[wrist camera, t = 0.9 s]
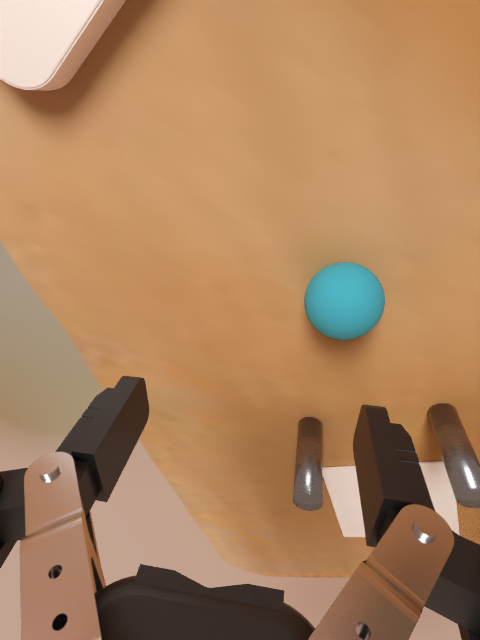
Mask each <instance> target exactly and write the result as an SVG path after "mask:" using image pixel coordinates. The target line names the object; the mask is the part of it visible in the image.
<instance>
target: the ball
mask: <svg viewBox="0 0 480 640" xmlns="http://www.w3.org/2000/svg"><path fill="white" fill-rule="evenodd" d="M304 301H305V310H306V314H307V316H308V319H309V320H310V322H311V323H312V325H313V326H314V327H315V328H316V329H317V330H318V331H319V332H321V333H322V334H324V335H326V336H328V337H330V338H334V339H340V340H348V339H354V338H357V337H360V336H362V335H364V334H366V333H368V332H369V331H370V330H371V329H372V328H373V327H374V326H375V325H376V324H377V323H378V321H379V320H380V318H381V316H382V313H383V310H384V305H385V296H384V291H383V288H382V286H381V283H380V282H379V280H378V278H377V277H376V276H375V275H374V274H373V273H372V272H371V271H370V270H368V269H367V268H365V267H363V266H361V265H358V264H354V263H346V262H345V263H336V264H333V265H330V266H327V267H325V268H324V269H322V270H321V271H319V272H318V273H317V274H316V275H315V276H314V277H313V278H312V280H311V281H310V283H309V285H308V287H307V289H306V293H305V300H304Z"/></svg>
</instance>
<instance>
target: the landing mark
mask: <svg viewBox="0 0 480 640" xmlns="http://www.w3.org/2000/svg"><path fill="white" fill-rule="evenodd" d="M419 465H420V466H421V469H422V472H423V476H424V479H425V482H426V485H427V488H428V491H429V494H430V497H431V500H432V503H433V506H434V509H435V511H436V512H437V513H438V514H439V515H440V516H441V517H442V518H443V519H444V520H445V521H446V522H447V523H448V525H449V526H450V528H451V530H452V531H454V532H455V533H457V534H458V535H460V534H459V524H458V514H457V504H456V499H455V496H454V493H453V490H452V487H451V484H450V481H449V478H448V475H447V472H446V469H445V466H444V463H443V461H434V462H419ZM322 475H323V478H324V481H325V484H326V486H327V489H328V492H329V495H330V498H331V501H332V504H333V507H334V510H335V513H336V516H337V518H338V521H339V524H340V527H341V530H342V533H343V536H344V537H366V536H365V529H364V522H363V515H362V508H361V501H360V494H359V487H358V480H357V473H356V466H343V467H325V468H322Z"/></svg>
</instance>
